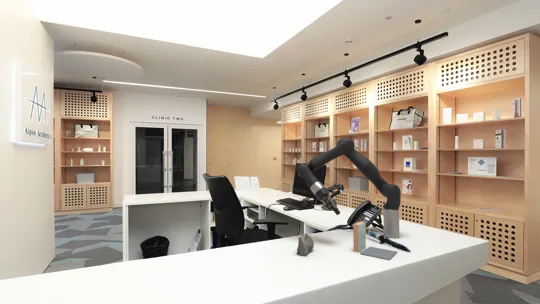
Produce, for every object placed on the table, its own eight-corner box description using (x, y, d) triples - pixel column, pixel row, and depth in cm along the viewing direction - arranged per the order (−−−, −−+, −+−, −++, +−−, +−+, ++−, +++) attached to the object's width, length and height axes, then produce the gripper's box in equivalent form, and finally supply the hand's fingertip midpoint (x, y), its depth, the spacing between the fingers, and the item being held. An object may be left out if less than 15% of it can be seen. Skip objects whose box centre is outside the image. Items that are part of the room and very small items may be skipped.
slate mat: (370, 247, 150) (370, 246, 150) (397, 252, 141) (397, 251, 141) (360, 254, 138) (360, 253, 138) (389, 260, 129) (389, 259, 129)
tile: (360, 246, 151) (360, 221, 151) (365, 248, 149) (365, 222, 150) (353, 251, 143) (353, 224, 144) (359, 252, 141) (359, 225, 142)
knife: (365, 236, 168) (366, 229, 168) (369, 235, 169) (370, 228, 169) (406, 257, 140) (407, 248, 140) (411, 256, 141) (411, 248, 141)
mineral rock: (311, 248, 148) (311, 229, 149) (323, 253, 139) (323, 233, 139) (290, 251, 143) (290, 231, 143) (301, 257, 133) (301, 236, 133)
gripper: (318, 187, 155) (338, 211, 147) (328, 186, 166) (348, 208, 158) (310, 195, 158) (329, 219, 150) (320, 194, 169) (339, 216, 161)
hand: (339, 213), depth 154 cm, fingers closed
